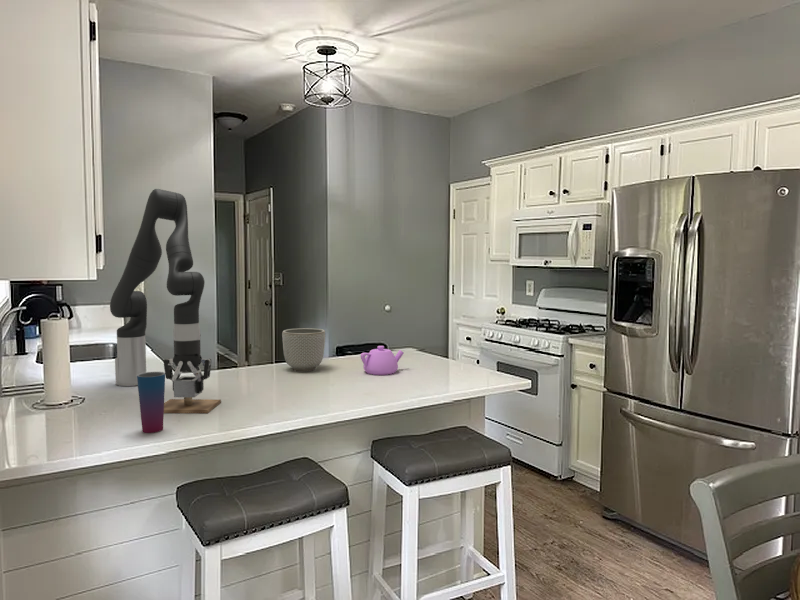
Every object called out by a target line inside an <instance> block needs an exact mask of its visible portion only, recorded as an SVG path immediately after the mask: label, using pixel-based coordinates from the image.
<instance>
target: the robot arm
mask: <svg viewBox="0 0 800 600" xmlns="http://www.w3.org/2000/svg"><path fill="white" fill-rule="evenodd" d="M145 204H146V205H145V208H144V212H143V216H142V219H141V222H140V223H141V224H140V226H139V230H138V233H137V236H136V238H135V241H134V243H133V245H132V246H131V247H132V248H131V250H130V253H129V255H128V259H127V263H126V265H125V268H124V270H123V273H122V275H121V278H120V280H119V281H118V283H117V285H116V287H115V289H114V291H113V293H112V296H111V299H110V302H109V308H110V309H109V310H110V313H111V315H112V316H113V317H115V318H119V319H122V318H123V319H126V318H130V319H129V321H128V322H127V323H126V324H124V325H123V326H120V327H118V328H117V329H116V351H117V356H116V357H115V359H114V370H115V371H114V372H115V385H116V386H120V387H121V386H122V387H134V386H138V381H137V375H138V374H140V373H145V372H147V350H146V349H147V347H146V346H147V345H146V344H147V343H146V330H147V326H148V325H147V322H148V319H147V316H148V315H147V314H148V303H147V302H148V301H147V296H146V295H145V293H144V292H143V291H140V290H136V289H137V287H138V286H140V284H142V283H143V282H144V281H145V280H148V278H149V277H151V275H152V274H154V273H155V271H156V270H157V268H158V265H159V263H160V260H161V257H162V254H163V250H162V245H161V242H160V240H159V237H158V235H157V232H156V231H157V230H156V223H157V220H158V219H160V220H161V219H162V220H167V221H173V223H174V224H175V227H174V230H173V231H172V232H171V234H170V235H169V237H168V239H167V240H166V244H165V251H166V257H167V263H168V274H167V279H166V290H167V291H168V293H169V294H170V295H172V296H175V297H176V296H179V297H180V296H190V298H189V299H188V300H187V301H185V302H181V303H177V304H175V305H174V306H173V355H174V356H173V358H170V357H168V358H165V359H163V361H162V363H163V368H164V373H165V380H171V381H172V391H173V392H174V382H173V381H174V380H176V379H178V378H180V377H181V376H182V373H185V372H189V373H192V375H194V376H195V377H196V378H197V380H198V381H197V393H201V392H202V393H203V391H204V380H207V379H209V378H210V376H211V369H212V359H211V358H203V357H202V355H201V353H202V352H201V327H200V315H199V313H200V303H201V298H202V296H203V292H204V289H205V279H204V278H205V277H204V276H203V274H202V273H201V272H199V271H189V270H191V269H192V268H193V267H194V259H193V256H192V250H191V247H190V242H189V241H190V240H189V217H188V205H187V201H186V198H185V196H184V195H183V194H181V193H179V192H174V191H170V190H165V189H162V188H160V189H159V188H154V189H153V190H152V191H151V192H150V194H149V196H148V198H147V201H146V203H145ZM201 364H202V366H203V373H202V369H201V367H200V365H201ZM173 365H175V366H176V369H175V371H174V372H173ZM202 393H201V394H202Z"/></svg>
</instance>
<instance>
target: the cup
mask: <svg viewBox="0 0 800 600" xmlns="http://www.w3.org/2000/svg"><path fill="white" fill-rule="evenodd" d="M137 381H138V385H137V388H138V401H139V410H140V411H139V412H140V420H141V431H142V432H143V433H146V434H154V433H158V432H159V433H160V432H162V431H163V430H164V415H165V413H164V403H165V392H166V391H165V388H166V387H165V386H166V375H165V371H146V372H145V373H140V374H138V375H137Z"/></svg>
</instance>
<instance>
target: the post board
mask: <svg viewBox="0 0 800 600" xmlns="http://www.w3.org/2000/svg"><path fill="white" fill-rule="evenodd" d="M220 404H222V399H204V398H203V399H193V397H183V398H177V399H176V398H171V399H168V400H167V401H164V414H209V413H210V412H211V411H213V410H214V409H215V408H217V406H219V405H220Z"/></svg>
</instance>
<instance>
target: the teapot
mask: <svg viewBox="0 0 800 600" xmlns="http://www.w3.org/2000/svg"><path fill="white" fill-rule="evenodd" d="M403 355H404V351H402V350H400V349H399V350H398V352H397V353H396V354H395V355H394V352H393V351H392V350H391V349H389V348H385V346H384V345H378V346H377V348H373V349H371V350H370V351H369V352H362V353H360V359H361V362H362V363H363V366H362V367H363V370H364V372H365V373H366V374H368V375H371V374H373V375H374V376H388V375H387V374H390V375H393V374H392V373H394V374H395V373H396V372H397V371H398V369H399V364H398V362H399V360H401V358H402V357H403Z"/></svg>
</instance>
